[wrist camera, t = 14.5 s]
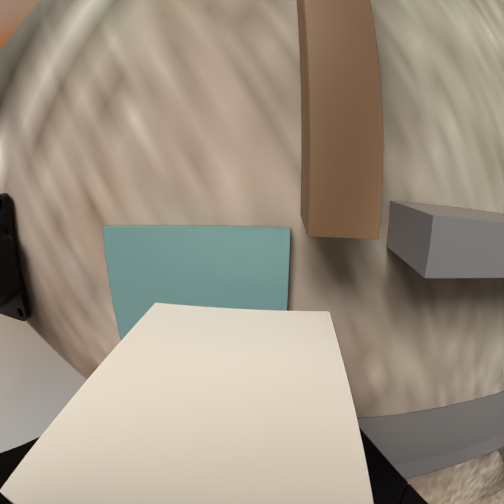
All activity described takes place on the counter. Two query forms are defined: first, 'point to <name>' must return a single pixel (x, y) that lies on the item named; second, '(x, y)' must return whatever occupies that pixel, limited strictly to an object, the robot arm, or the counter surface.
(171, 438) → the cream white block
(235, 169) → the counter surface
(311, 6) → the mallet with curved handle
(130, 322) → the pad
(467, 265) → the socket cradle
